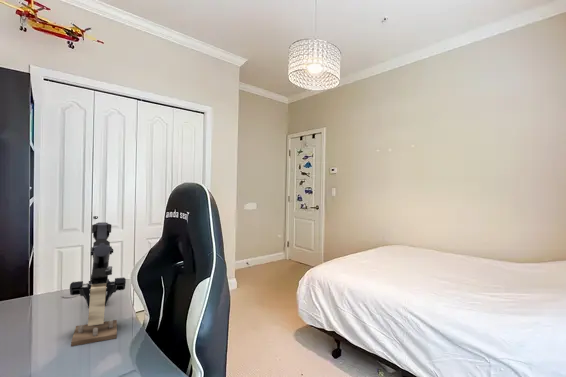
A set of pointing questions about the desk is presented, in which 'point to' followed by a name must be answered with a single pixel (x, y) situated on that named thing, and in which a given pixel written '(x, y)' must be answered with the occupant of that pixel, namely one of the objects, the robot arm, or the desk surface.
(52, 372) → the desk surface
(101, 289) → the birch block
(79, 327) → the board
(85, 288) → the robot arm
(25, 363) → the desk surface
